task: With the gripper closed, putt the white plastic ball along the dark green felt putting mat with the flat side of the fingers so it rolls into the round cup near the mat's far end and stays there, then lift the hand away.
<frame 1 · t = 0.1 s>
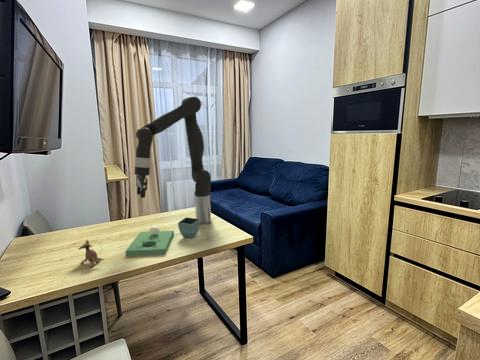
hand: (140, 195, 136), 22 cm above the table, tool pointing down, fingers open, 8 cm apart
flower pot: (189, 236, 137), on the table
dinosaur figurine: (91, 263, 111), on the table
ball: (154, 230, 133), point 5 cm above the table, touching putting mat
putting mat: (152, 244, 128), on the table
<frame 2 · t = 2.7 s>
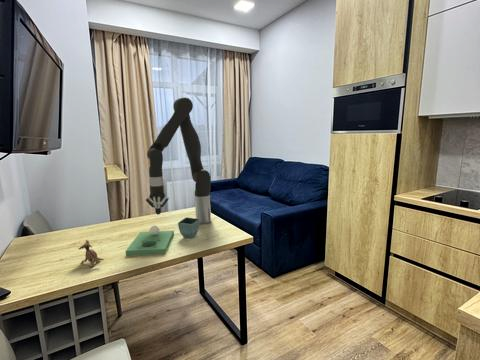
hand: (158, 214, 144), 10 cm above the table, tool pointing down, fingers closed
nothing on the table moved.
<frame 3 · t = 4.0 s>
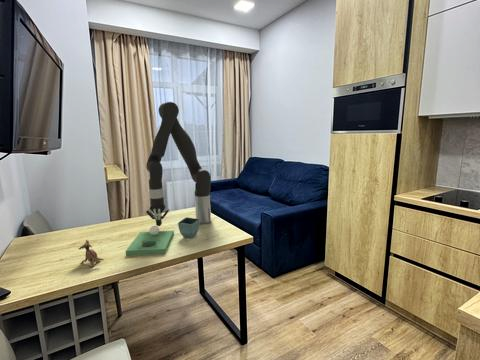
hand: (159, 225, 144), 4 cm above the table, tool pointing down, fingers closed
nothing on the table moved.
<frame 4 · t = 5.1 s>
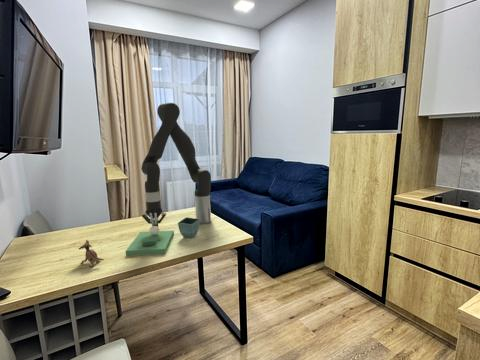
hand: (155, 230, 137), 4 cm above the table, tool pointing down, fingers closed
ball: (154, 230, 133), point 5 cm above the table, touching gripper
everything else where it was.
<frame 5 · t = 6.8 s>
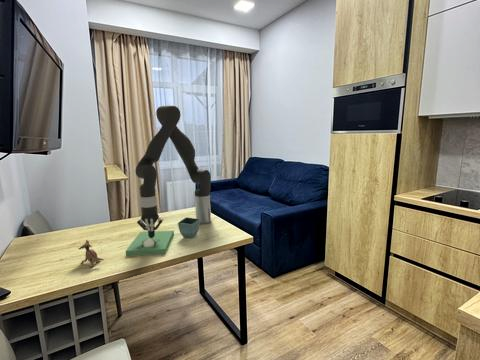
hand: (151, 237, 128), 4 cm above the table, tool pointing down, fingers closed
ball: (148, 244, 122), point 3 cm above the table, tilted 108°, touching putting mat
everything else where it was.
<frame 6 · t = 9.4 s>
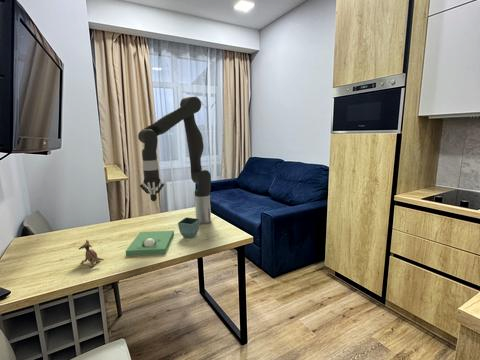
hand: (153, 200, 134), 20 cm above the table, tool pointing down, fingers closed
ball: (149, 243, 123), point 3 cm above the table, tilted 128°, touching putting mat
everything else where it was.
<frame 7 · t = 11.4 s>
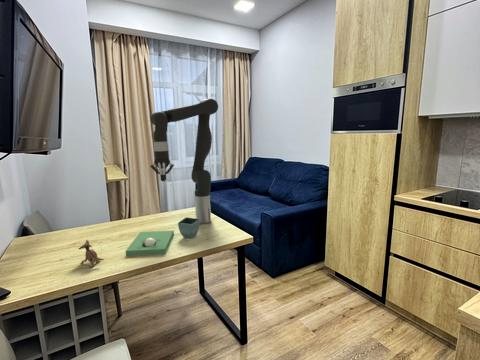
hand: (163, 181, 140), 29 cm above the table, tool pointing down, fingers closed
ball: (150, 242, 124), point 3 cm above the table, tilted 144°, touching putting mat
everything else where it was.
at the end: ball 0.9 cm from the target spot on the putting mat, point 2.7 cm above the putting mat's base; the gripper is holding nothing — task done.
